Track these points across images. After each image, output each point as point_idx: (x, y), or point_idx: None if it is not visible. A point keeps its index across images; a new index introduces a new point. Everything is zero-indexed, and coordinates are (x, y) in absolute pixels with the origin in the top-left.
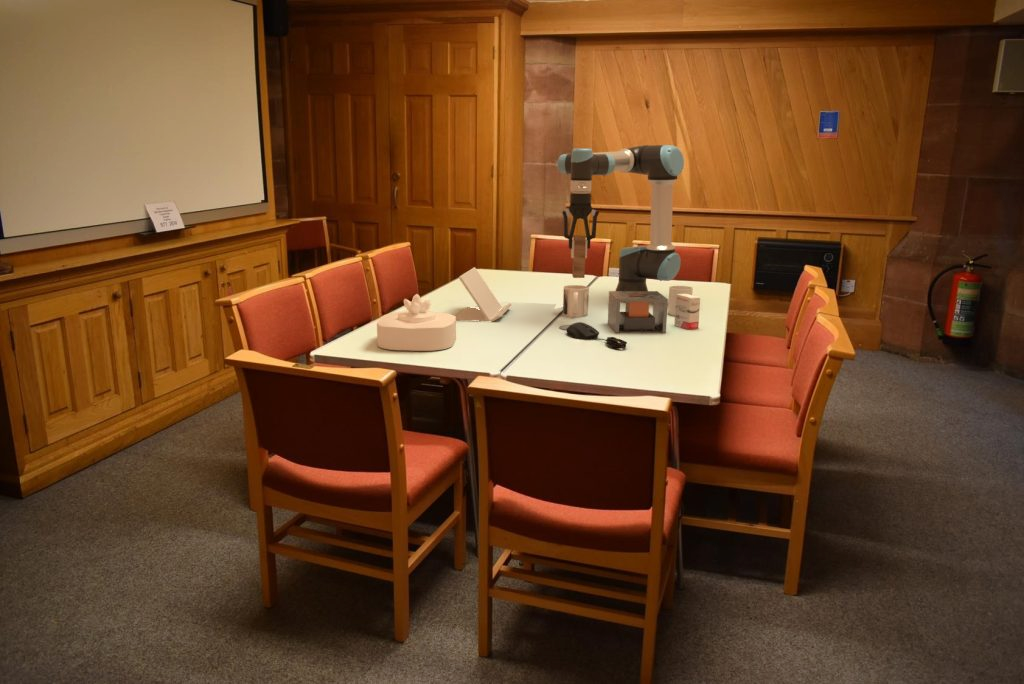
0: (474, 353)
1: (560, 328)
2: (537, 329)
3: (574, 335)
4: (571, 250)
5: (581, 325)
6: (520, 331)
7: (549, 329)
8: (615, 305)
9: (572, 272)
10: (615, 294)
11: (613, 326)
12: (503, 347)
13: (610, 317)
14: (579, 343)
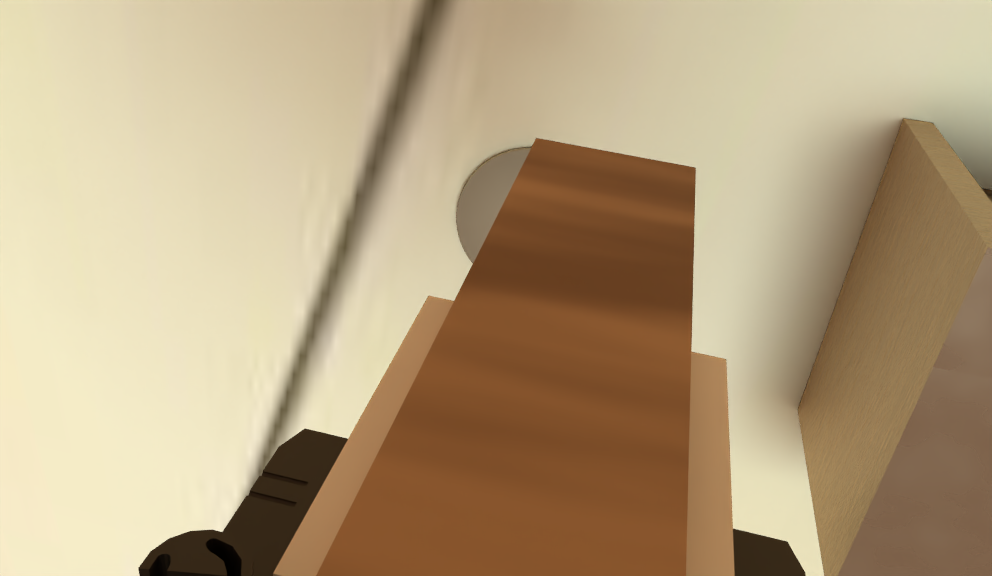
0: (45, 555)
1: (460, 237)
2: (309, 213)
3: None
4: (382, 393)
5: None
6: (204, 245)
7: (387, 228)
8: (834, 512)
9: (525, 160)
10: (941, 431)
11: (825, 360)
12: (143, 512)
13: (877, 261)
14: None
